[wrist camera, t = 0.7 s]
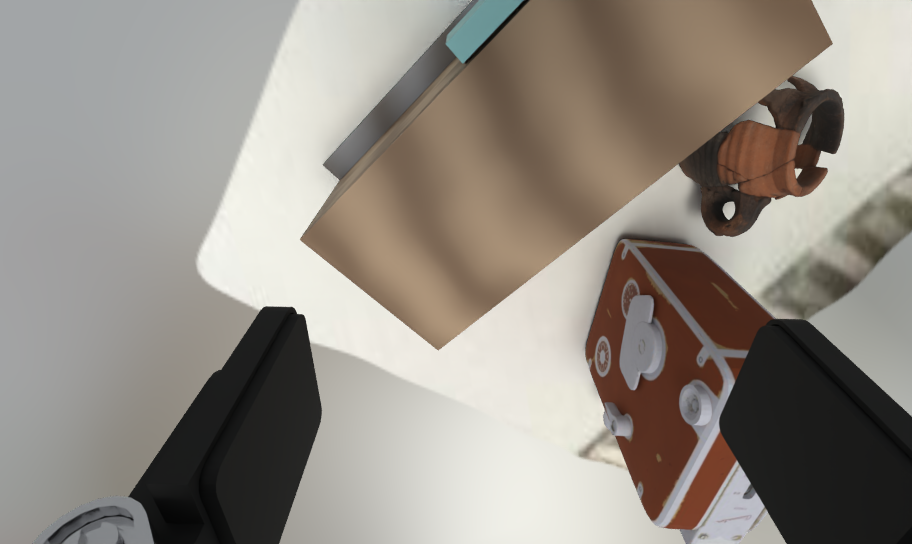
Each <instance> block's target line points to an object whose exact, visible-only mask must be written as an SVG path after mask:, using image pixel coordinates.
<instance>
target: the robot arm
mask: <svg viewBox="0 0 912 544" xmlns="http://www.w3.org/2000/svg"><path fill="white" fill-rule="evenodd" d="M321 414H322V408H321V402H320V396H319V391H318V385H317V380H316V374H315V369H314V363H313V358H312V352H311V347H310V341H309V336H308V330H307V325H306V320H305V317H304V315H302V314H297V312H296V310H295V308H293V307H267V306H266V307H263V308H262V310H261V311H260V312H259V314H258V315H257V317H256V319H255V320H254V321H253V323H252V324H251V326H250V327H249V329H248V330H247V332H246V334H245V335H244V336H243V338H242V339H241V341H240V343H239V344H238V346H237V347H236V348H235V350H234V351H233V353H232V354H231V356H230V358H229V359H228V360H227V362H226V363H225V365H224V366H223V368H222V370H218V371H216V372H215V373H213V375H212V376H211V377H210V378H209V379H208V381H207V382H206V384H205V385H204V387H203V388H202V390H201V391H200V392H199V394H198V395H197V397H196V398H195V400H194V401H193V403H192V404H191V406H190V407H189V408H188V410H187V411H186V413H185V414H184V416H183V418H182V419H181V420H180V422H179V423H178V425H177V426H176V428H175V429H174V431H173V432H172V433H171V435H170V437H169V438H168V439H167V441H166V442H165V444H164V445H163V447H162V448H161V450H160V451H159V453H158V454H157V455H156V457H155V458H154V460H153V461H152V463H151V464H150V466H149V467H148V469H147V470H146V472H145V473H144V475H143V476H142V477H141V479H140V480H139V482H138V484H137V485H136V486H135V488H134V489H133V491H132V492H131V494H130V495H129V497H122V496H112V497H106V498H100V499H97V500H94V501H91V502H89V503H86V504H84V505H81V506H79V507H77V508H75V509H74V510H72V511H70V512H69V513H67V514H65V515H63V516H62V517H60V518H59V519H58V520H57V521H55V522H54V523H53V524H51V525H50V526H49V527H48V528H47V529H45V530H44V531H43V532H42V533H41V534H40V535H39V536H38V537H37V539H36V540H35V541H34V542H33V543H32V544H279V542H280V539H281V536H282V533H283V530H284V527H285V524H286V521H287V519H288V516H289V513H290V510H291V507H292V504H293V501H294V498H295V495H296V492H297V489H298V487H299V483H300V481H301V478H302V475H303V471H304V469H305V466H306V463H307V460H308V457H309V455H310V452H311V449H312V445H313V443H314V440H315V437H316V434H317V431H318V428H319V425H320V422H321ZM719 428H720V432H721V434H722V436H723V438H724V439H725V441H726V443H727V445H728V446H729V448H730V450H731V451H732V453H733V455H734V456H735V458H736V460H737V461H738V463H739V465H740V466H741V468H742V470H743V471H744V473H745V475H746V476H747V478H748V480H749V481H750V483H751V485H752V486H753V488H754V490H755V491H756V493H757V495H758V496H759V498H760V500H761V501H762V503H763V505H764V506H765V508H766V510H767V511H768V513H769V515H770V516H771V518H772V520H773V521H774V523H775V525H776V526H777V528H778V530H779V531H780V533H781V535H782V536H783V538H784V540H785V542H786V543H787V544H912V417H911V416H910V415H909V414H908V413H907V412H906V411H905V410H904V409H903V408H902V407H901V406H899V405H898V404H897V403H896V402H895V401H894V400H893V399H892V398H891V397H890V396H889V395H888V394H886V393H885V392H884V391H883V390H882V389H881V388H880V387H879V386H878V385H877V384H876V383H875V382H874V381H872V380H871V379H870V378H869V377H868V376H867V375H866V374H865V373H864V372H863V371H861V370H860V369H859V368H858V367H857V366H856V365H855V364H854V363H853V362H852V361H851V360H850V359H849V358H847V357H846V356H845V355H844V354H843V353H842V352H841V351H840V350H839V349H838V348H837V347H836V346H835V345H833V344H832V343H831V342H830V341H829V340H828V339H827V338H826V337H825V336H824V335H823V334H822V333H820V332H819V331H818V330H817V329H816V328H815V327H814V326H813V325H812V324H810V323H809V322H808V321H806V320H801V319H772V320H770V321H769V322H767V324H766V325H765V326H762V327H761V328H759V330H758V331H757V333H756V336H755V338H754V340H753V342H752V345H751V347H750V349H749V352H748V354H747V356H746V358H745V361H744V363H743V365H742V367H741V370H740V372H739V374H738V376H737V379H736V381H735V383H734V386H733V388H732V390H731V392H730V395H729V397H728V399H727V401H726V404H725V406H724V408H723V410H722V413H721V415H720V418H719Z"/></svg>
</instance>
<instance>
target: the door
mask: <svg viewBox="0 0 912 544" xmlns="http://www.w3.org/2000/svg"><path fill="white" fill-rule="evenodd" d="M522 1H523V0H479V1H478V2H477V3H476V4H475V5H474V6H473V7H472V9H471V10H470V11H469V12H468V13H467V14H466V15H465V16H464V17H463V18H462V19H461V21H460V22H459V23H458V24H457V25H456V26H455V27H454V28H453V29H452V30H451V31H450V33H449V34H448V35H447V39H446V45H447V46H448V47H449V49H450V50H451V51H452V52H453V53H454V54H455V56H456V57H457V58H458V59H459V60H460V61H461V62H462V64H463V63H464V62H465V61H466V60H467V59H468V58H469V57H470V56H471V55H472V54H473V53H474V52H475V51H476V49H477V48H478V47H479V46H480V45H481V44H482V43H483V42H484V41H485V40H486V39H487V38H488V37H489V36H490V35H491V34H492V33H493V32H494V31H495V30H496V29H497V28H498V26H499V25H500V24H501V23H502V22H503V21H504V20H505V19H506V18H507V17H508V16H509V15H510V14H511V13H512V12H513V11H514V10H515V9H516V8H517V7H518V6H519V5H520V4H521V2H522Z"/></svg>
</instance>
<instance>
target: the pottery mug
mask: <svg viewBox="0 0 912 544" xmlns="http://www.w3.org/2000/svg"><path fill="white" fill-rule="evenodd" d="M788 82H790V83H792V84H793V85H794V86H795V87H796V89H797V90H796V89H791V88H785V89H781V90H776V89H774V90H773V91H771V92H770V93H769V94H768V95H766V96H765V97H764V98H762V99H761V100H760V101H759V102H758V103H759V104H761V105H764V106H767V107H768V110H769V111H770V113H771V114H772V116H773V118H774V122H775V125H776V128H773V127H771V126H768V125H763V124H760V123H757V122H754V121H751V120H747V121H743V122H740V123H738V124H736V125H735V126H734V127H733V128H732V129H731V130H730V132H729V133H727V132H722V133H717V134H716V135H715V136H714V137H712V138H711V139H710V140H708V141H707V142H706V143H705V144H703V145H702V146H701V147H699V148H698V149H697V150H695V151H694V152H693V153H692V154H690V155H689V156H688V157H686V158H685V159H684V160H683V161H681V162H680V163H679V164H680V167H681V168H682V170H683V172H684V173H685V175H686V176H688V177H690V178H691V179H693V180H694V181H695V182H696V183H698V184H700V186H702V188H701V192H702V201H701V213H702V217H703V220H704V223H705V225H706V227H707V228H708V229H709V230H710V231H711V232H713V233H714V234H715V235H716V236H723V235H725V236H730V237H734V236H738V235H740V234H742V233H744V232H746V231H747V230H749V229H750V228H751V227H752V225H753V224H754V223H755V221H756V220H757V218H758V216H759V214H760V212H761V211H762V209H763V208H764V207H765V206H767V205H768V204H769V203H770V202H771V198H775V199H776V200H777V199H780V198H783V197H785V196H787V195H793V196H795V197H802V196H805V195H808V194H810V193H811V192H812V191H814V189H815V188H817V186H818V185H819V184H820V183H821V182H822V180H823V179H824V178H825V176H826V174H827V172H828V171H827V170H828V169H827V168H821V167H816V164H817V163H818V160H819V157H820V154H821V151H824V152H827V153H831V154H835V153H836V152H837V150H838V148H839V146H840V141H841V138H842V133H843V128H844V109H843V103H842V98H841V97H840V96H839V94H838V92H836V91H835V90H833V89H831V90H830V89H825V90H821V91H819V90H818V89H817V88H816V87H815V86H814V85H812V84H810V83H809V82H807V81H805V80H803V79H801V78H797V77H794V76H791V77H789V78H788ZM811 114H812V122H811V125H810V128H809V130H808V132H807V134H806V137H805V139H804V140H803V143H802V144H801V145H798V141H799V138H800V133H801V131H802V130H803V128H804V126H805V124H806V122H807V120H808V118H809V117H810V115H811ZM795 168H797V169H798V168H800V169H802V171H801V173H800V174H799V176H798V177H797V179H796V176H795V170H794V169H795ZM736 183H738V189H739V191H738V190H736V189H734V188H733V187H730V186H728V185H732V184H736ZM727 202H734V203H735V213H734V216H733V217H732V218H731V219H730V220H728V219H727V218H726V217H725V215H724V213H723V206H724V204H725V203H727Z"/></svg>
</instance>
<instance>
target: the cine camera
mask: <svg viewBox="0 0 912 544" xmlns="http://www.w3.org/2000/svg"><path fill="white" fill-rule="evenodd" d="M772 319H776V318H775V317H774V316H773V315H771V314H770V313H769V312H768V311H767V310H766V309H765V308H764V307H763V306H762V305H761V304H760V303H759V302H758V301H756V300H755V299H754V298H753V297H752V296H751V295H750V294H749V293H748V292H747V291H746V290H745V289H744V288H743V287H742V286H740V285H739V284H738V283H737V282H736V281H735V280H734V279H733V278H732V277H731V276H730V275H729V274H728V273H727V272H725V271H724V270H723V269H722V268H721V267H720V266H719V265H718V264H717V263H716V262H714V261H713V260H712V259H711V258H710V257H709V256H708V255H707V254H705V253H704V252H702V251H701V250H700V249H698V248H697V247H695V246H692V245H687V244H679V243H668V242H658V241H647V240H636V239H622V240H620V241H619V243H618V244H617V247H616V249H615V252H614V254H613V258H612V261H611V264H610V268H609V271H608V274H607V278H606V281H605V284H604V287H603V291H602V294H601V297H600V301H599V304H598V307H597V311H596V314H595V317H594V320H593V324H592V327H591V330H590V334H589V337H588V340H587V344H586V351H585V355H586V360H587V363H588V366H589V369H590V372H591V375H592V378H593V380H594V383H595V385H596V388H597V390H598V393H599V396H600V398H601V401H602V403H603V406H604V408H605V412H604V415H603V418H604V424H605V426H606V427H607V428H608V429H609V430H610V431H611V433H612V434H613V435H615V437H616V439H617V442H618V444H619V447H620V449H621V452H622V455H623V457H624V460H625V462H626V465H627V467H628V470H629V473H630V475H631V477H632V480H633V483H634V485H635V488H636V490H637V492H638V495H639V498H640V500H641V502H642V505H643V507H644V509H645V511H646V513H647V515H648V516H649V518H650V519H651V521H652V522H653V523H654V524H655V525H657V526H659V527H662V528H669V529H680V531H681V534H682V536H683V538H684V540H685V543H686V544H739V543H740V542H741V540H742V539H743V537H744V536H745V534H746V533H747V532H749V531H751V530H752V529H754V528H755V527H757V525H758V524H759V523H760V521H761V520H762V519H763V518H764V516H765V515H766V514H767V512H768V511H767V510H766V508H765V506H764V505H763V503H762V501H761V500H760V498H759V496H758V495H757V493H756V491H755V490H754V488H753V486H752V485H751V483H750V481H749V480H748V478H747V476H746V475H745V473H744V471H743V470H742V468H741V466H740V465H739V463H738V461H737V460H736V458H735V456H734V455H733V453H732V451H731V450H730V448H729V446H728V445H727V443H726V441H725V439H724V438H723V436H722V434H721V432H720V428H719V418H720V415H721V413H722V410H723V408H724V406H725V404H726V401H727V399H728V397H729V395H730V392H731V390H732V388H733V386H734V383H735V381H736V379H737V376H738V374H739V372H740V370H741V367H742V365H743V363H744V361H745V358H746V356H747V354H748V352H749V349H750V347H751V345H752V342H753V340H754V338H755V336H756V333H757V331H758V330H759V328H761V327H762V326H765V325H766V324H767V322H769V321H770V320H772Z"/></svg>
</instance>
